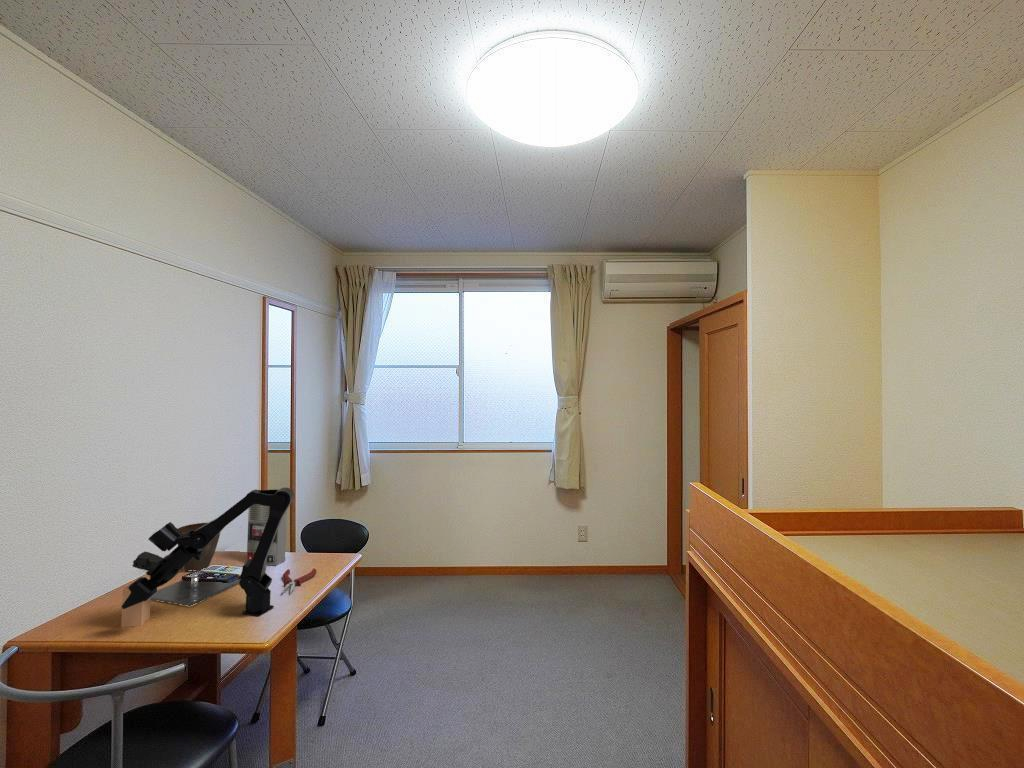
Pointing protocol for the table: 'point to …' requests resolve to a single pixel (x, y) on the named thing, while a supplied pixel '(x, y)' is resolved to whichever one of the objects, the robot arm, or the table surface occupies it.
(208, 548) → the plant pot
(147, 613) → the sleeve
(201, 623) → the table surface
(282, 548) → the grey electrical device
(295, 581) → the pliers
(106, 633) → the table surface
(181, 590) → the plate
